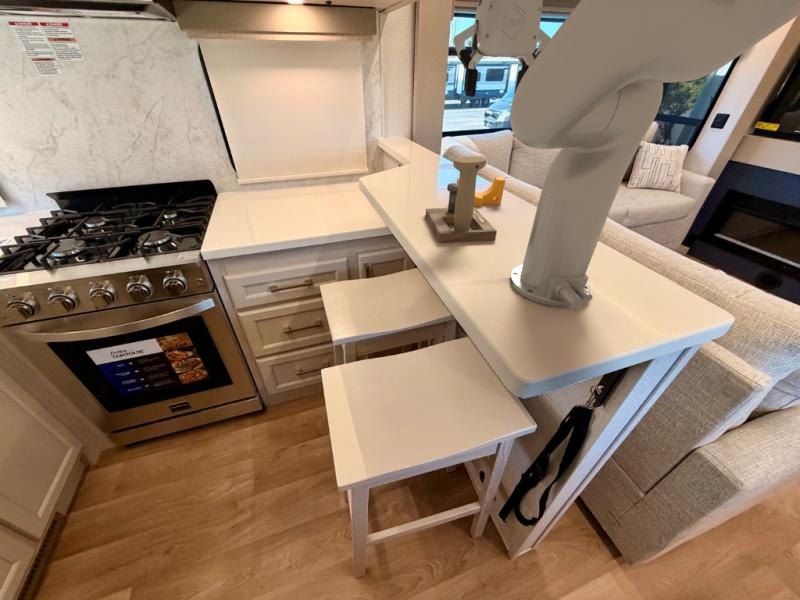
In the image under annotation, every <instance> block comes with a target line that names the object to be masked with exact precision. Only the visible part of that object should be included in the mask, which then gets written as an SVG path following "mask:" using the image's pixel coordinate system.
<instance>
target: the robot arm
mask: <svg viewBox="0 0 800 600" xmlns="http://www.w3.org/2000/svg"><path fill="white" fill-rule="evenodd" d="M543 2H544V0H478V2H477V8H476V12H475V18H474V23H473V24H472V25H470V26H469V27H467V28H466V29H464V30H463V31H461V32H459V33H458V34H456V35H455V36H453V38H452V39H453V40H452V41H453V44H454V48H455V50H456V53H457V55H456V56H457V58H458V59H459V61H460V62H461V64H462V65H463V68H464V70H465V74H464V85H463V91H464V92H465V93H464V94H465V96H466V97H470V98H473V97H475V96H476V91H477V83H478V75H479V70H478V69H477V65H478V64H479V63H480V61H481V60H482V59H483V58H484V57H499V58H500V57H502V58H504V57H505V58H506V57H508V58H509V57H510V58H512V57H517V60H518V62H519V64H520V67H521V69H519V70H518V72H517V76H516V82H515V86H514V87H515V89H514V92H513V97H512V98H513V99H512V101H511V106H510V114H509V120H510V121H509V122H510V127H511V130H512V133H513V136H514V137H515V139H517V140H518V141H519V142H520V143H521V144H522V145H524V146H526V147H529V148H530V149H531V148H532V149H536V150H551V149H552V150H553V149H560V150H559V152H558V153H557V154H556V156H555V157H554V159H553V161H552V162H551V164H550V166H549V168H548V170H547V173H546V174H545V176H544V180H543V184H542V189H541V191H540V195H539V199H538V203H537V208H536V211H535V215H534V217H533V223H532V227H531V230H530V234H529V238H528V243H527V246H526V251H525V254H524V258H523V262H522V264H520V265H517V266H516V267H514V268H513V269H512V271H511V272H510V278H509V281H510V284H511V286H512V289H514V290H515V291H516V292H517V293H518V294H519V295H521V296H522V297H524V298H526V299H528V300H531V301H533V302H536V303H539V304H541V305H545V306H552V307H560V308H563V307H567V308H568V307H569V308H570V309H572V310H578V309H580V308H581V307H582V306H583V305H584V303H588V302H590V301H592V299H593V295H592V294H591V293H590V292H591V288H590V287H591V286H590V284H589V283H588V280H589V275H587V271H588V268H589V266H590V262H591V260H592V257H593V255H594V252H595V250H596V248H597V245H598V243H599V240H600V237H601V235H602V231H603V229H604V226H605V223H606V222H607V219H608V217H609V213H610V210H611V208H612V206H613V204H614V201H615V199H616V196H617V194H618V191H619V188H620V186H621V183H622V181H623V178H624V176H625V174H626V172H627V169H628V168H629V165H630V163H631V161H632V159H633V157H634V155H635V153H636V152H637V150H638V148H639V146H640V145H641V143H642V141H643V140H644V138H645V136H646V135H647V133H648V131H649V130H650V128H651V126H652V124H653V123H654V121H655V118H656V117H657V114H658V112H659V109H660V108H661V104H662V100H663V96H664V95H663V93H664V83H665V84H666V83H682V82H683V83H684V82H690V81H695V80H698V79H702V78H704V77H706V76H709V75H710V74H713V73H716V71H718V70H720V69H721V68H723V67H725V66H726V65H727V64H729V63H731V62H732V61H733V60H735V59H737V58H738V57H739V56H741V55H742V54H743V53H745V52H747V51H748V50H749V49H751V48H752V47H754V46H756V45H757V44H759V42H761V41H763V40H764V39H766V38H767V37H769V36H770V35H771V34H773V33H775V32H776V31H777V30H779V29H780V28H781V27H783V26H785V25H786V24H787V23H789V22H790V21H792V20H794V19H795V18H797V17H798V16H799V15H800V0H580V1H578V3H577V5H576V6H575V7H574V9H572V11H571V12H570V14H569V15H568V16H567V17H566V19H565V20H564V21H563V22H562V24H561V25H560V26H559V28H558V29H557V30H556V32H555V33H554V34H553V35H552V37H550V35H548V34H547V33H546V32H545V31H544V30H543V29H542V28H540V26H541V18H542V10H543ZM470 38H471V51H472V52H471V54H469V52H468V51H467V49H466V45H465V44H466V43H465V42H466V41H468V40H469V39H470ZM537 43H538V47H537ZM536 48H537V49H536Z"/></svg>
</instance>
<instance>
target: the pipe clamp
mask: <svg viewBox="0 0 800 600" xmlns="http://www.w3.org/2000/svg"><path fill="white" fill-rule="evenodd" d="M456 183H458V184H459V177H457V178H456ZM505 183H506V179H504V178H503V177H494V179H493V182H492V184H491V185H490V187H488V188H487V189H486V190H484V191H483V192H482V191H481V192H475V200H474V207H483V206H484V205H501V204H502V201H503V195H504V191H505V190H504V188H505Z"/></svg>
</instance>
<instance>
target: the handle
mask: <svg viewBox="0 0 800 600" xmlns="http://www.w3.org/2000/svg"><path fill="white" fill-rule="evenodd" d="M452 165H453V167H454V169H455V170H457V171H459V177H458V178H459V184H458V191H457V197H456V203H455V211H454V224H455V225H453V231H467V230H471V229H470V228H471V221H472V216H473V210H474V207H475V206H474V200H475V193H476V187H477V186H476V185H477V177H478V176H477V175H478V172H479V171H480V170H482V169H484V168H485V167H486V165H487V159H486V158H484V157H479V156H464V157H457V158H454V159H453V164H452Z"/></svg>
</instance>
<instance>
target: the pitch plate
mask: <svg viewBox="0 0 800 600" xmlns="http://www.w3.org/2000/svg"><path fill="white" fill-rule="evenodd" d="M446 190H447V191H448V192H449V193H448V194H449V195H448V205H447V207H438V208H437V207H436V208H434V207H433V208H425V217H426V220H427V221H428V223H429V225H430V227H431V229H432V232H433V234H434V235H435V237H436V239H437V241H438V243H440V244H441V243H443V244H444V243H462V242H463V243H464V242H465V243H466V242H481V241H485V242H486V241H496V239H497V233H498V231H497V229H496V228H494V226H493V225H492V224H491V223H490V222H489V221H488V220H487V218H485V217H484V216H483V215H482V214H481V213H480V212H479V210H478V209H477V208H476V206H474V210H473V216H472V221H471V224H470V226H471V227H472V228H473V229H472V230H471V229H469V230H467V231H454V230H451V229H450V228H449V226H455V224H454V211H455V203H456V197H457V191H458V183H457V182H456V183H455V182H453V183H452V182H451V183H448V184H447V189H446Z"/></svg>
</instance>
